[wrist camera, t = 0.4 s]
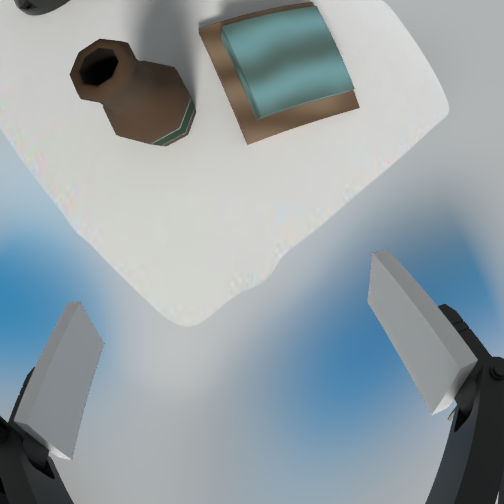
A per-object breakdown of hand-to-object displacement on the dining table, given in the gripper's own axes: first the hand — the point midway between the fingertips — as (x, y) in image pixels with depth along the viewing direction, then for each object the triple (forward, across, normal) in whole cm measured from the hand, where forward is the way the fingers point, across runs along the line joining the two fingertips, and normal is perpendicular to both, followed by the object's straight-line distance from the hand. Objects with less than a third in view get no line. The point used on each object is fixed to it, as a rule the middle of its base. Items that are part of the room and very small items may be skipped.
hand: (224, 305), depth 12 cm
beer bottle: (+28, -6, +7) cm, 30 cm away
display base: (+30, +10, +12) cm, 33 cm away
